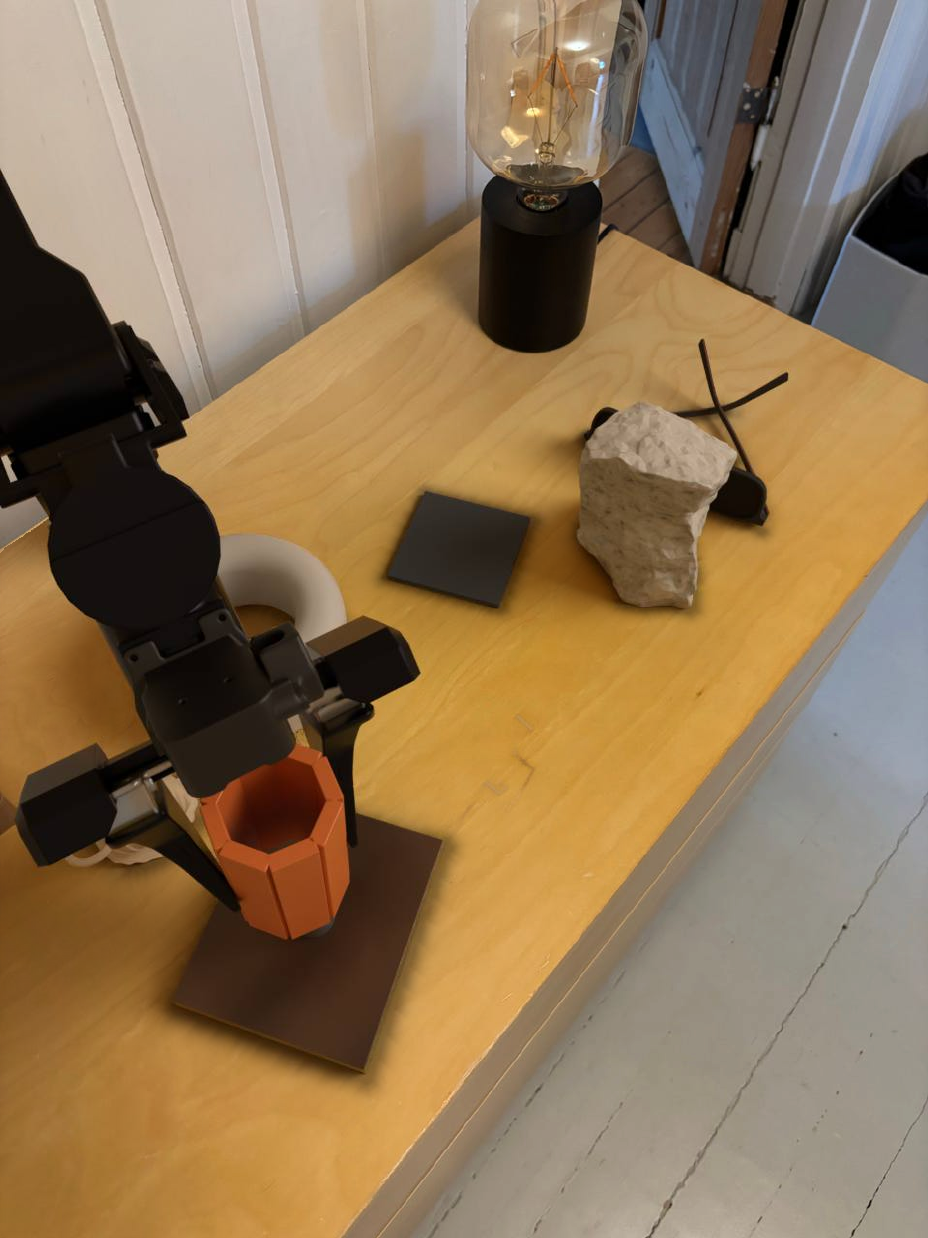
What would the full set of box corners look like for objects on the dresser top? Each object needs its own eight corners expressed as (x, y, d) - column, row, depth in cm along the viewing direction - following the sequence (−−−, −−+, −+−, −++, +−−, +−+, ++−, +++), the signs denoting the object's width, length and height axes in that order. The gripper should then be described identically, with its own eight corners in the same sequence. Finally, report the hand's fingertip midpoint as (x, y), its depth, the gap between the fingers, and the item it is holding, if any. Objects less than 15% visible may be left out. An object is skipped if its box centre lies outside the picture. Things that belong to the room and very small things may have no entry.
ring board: (177, 1006, 56) (151, 985, 51) (274, 794, 63) (259, 760, 58) (366, 1074, 54) (357, 1059, 49) (444, 847, 61) (442, 816, 56)
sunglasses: (827, 433, 81) (847, 389, 77) (754, 540, 75) (771, 499, 71) (657, 355, 86) (667, 311, 82) (575, 449, 80) (581, 406, 76)
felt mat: (387, 578, 73) (386, 575, 72) (425, 494, 77) (425, 490, 77) (498, 608, 71) (498, 605, 71) (530, 520, 76) (530, 516, 75)
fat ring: (321, 555, 74) (309, 500, 68) (378, 714, 66) (371, 667, 60) (129, 610, 71) (101, 557, 65) (166, 783, 63) (138, 741, 58)
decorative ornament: (216, 819, 62) (197, 787, 57) (101, 899, 59) (72, 872, 54) (184, 775, 64) (164, 740, 59) (71, 851, 61) (41, 821, 56)
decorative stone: (717, 537, 75) (766, 402, 63) (683, 625, 70) (730, 498, 58) (596, 497, 77) (621, 358, 65) (556, 580, 73) (575, 448, 60)
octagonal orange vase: (217, 913, 51) (177, 839, 40) (265, 814, 54) (240, 722, 44) (319, 953, 50) (306, 888, 40) (363, 850, 53) (360, 765, 43)
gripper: (-86, 730, 33) (119, 1075, 37) (388, 517, 38) (521, 840, 42) (-42, 672, 43) (114, 946, 47) (326, 511, 48) (437, 771, 52)
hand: (295, 876), depth 47 cm, fingers closed on octagonal orange vase, 6 cm apart
